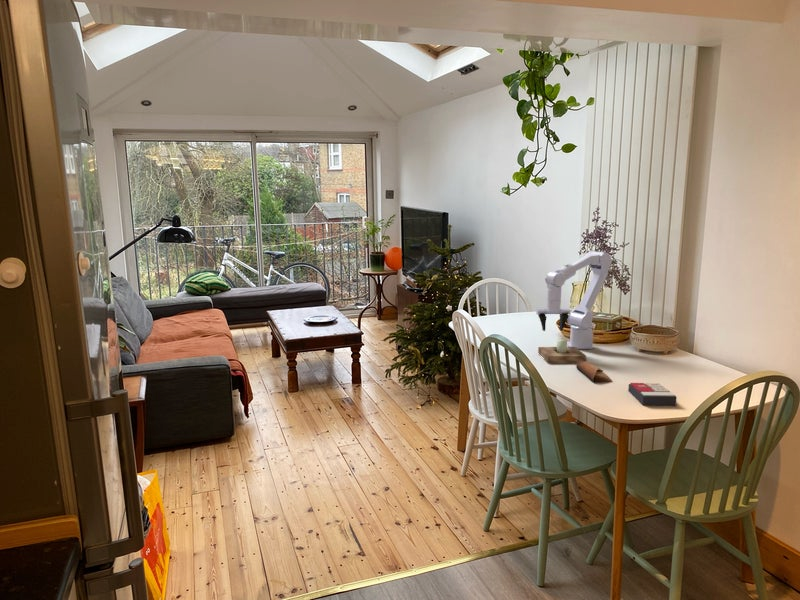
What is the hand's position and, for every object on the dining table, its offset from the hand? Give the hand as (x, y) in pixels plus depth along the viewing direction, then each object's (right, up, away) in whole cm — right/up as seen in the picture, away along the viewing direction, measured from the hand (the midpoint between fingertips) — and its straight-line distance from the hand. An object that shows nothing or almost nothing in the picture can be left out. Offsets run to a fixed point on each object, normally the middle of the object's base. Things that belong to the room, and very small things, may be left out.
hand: (552, 330), depth 265 cm
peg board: (+2, -11, -9) cm, 15 cm away
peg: (+2, -11, -9) cm, 14 cm away
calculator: (+20, -21, -56) cm, 63 cm away
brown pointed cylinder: (+8, -16, -31) cm, 36 cm away
